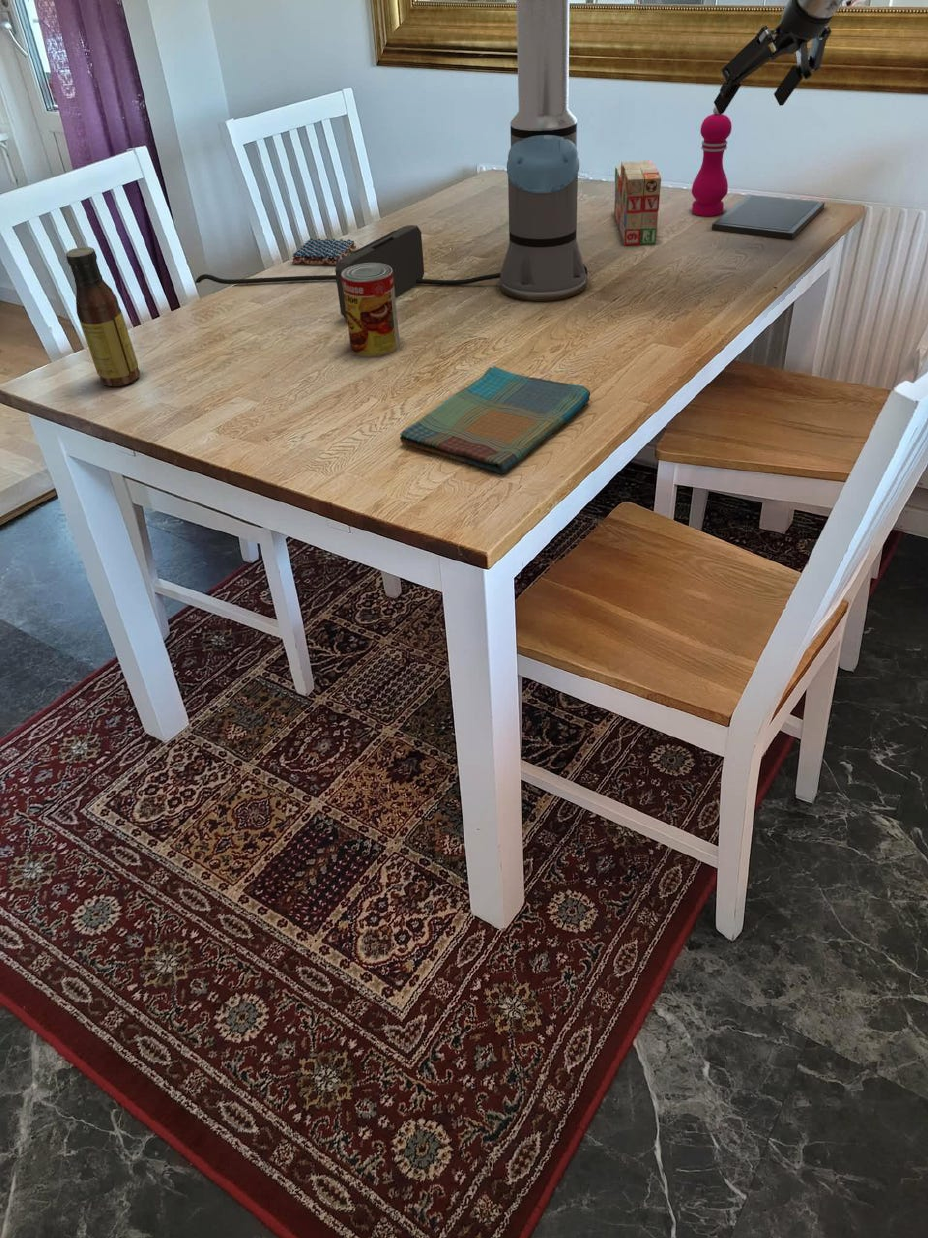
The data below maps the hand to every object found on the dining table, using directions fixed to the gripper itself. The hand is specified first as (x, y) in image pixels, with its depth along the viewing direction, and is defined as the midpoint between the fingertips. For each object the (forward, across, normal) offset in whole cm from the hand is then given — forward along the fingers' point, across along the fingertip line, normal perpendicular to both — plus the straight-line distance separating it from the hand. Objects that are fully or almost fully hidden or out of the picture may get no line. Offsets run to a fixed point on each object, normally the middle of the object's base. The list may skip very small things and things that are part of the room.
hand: (748, 103), depth 179 cm
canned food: (+9, -82, -28) cm, 87 cm away
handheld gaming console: (+20, -73, -13) cm, 77 cm away
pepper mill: (+25, +3, -4) cm, 26 cm away
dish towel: (-12, -77, -55) cm, 95 cm away
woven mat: (+38, -75, +9) cm, 84 cm away
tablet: (+18, +10, -13) cm, 24 cm away
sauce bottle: (+15, -121, -22) cm, 124 cm away
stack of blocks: (+25, -15, -5) cm, 30 cm away
